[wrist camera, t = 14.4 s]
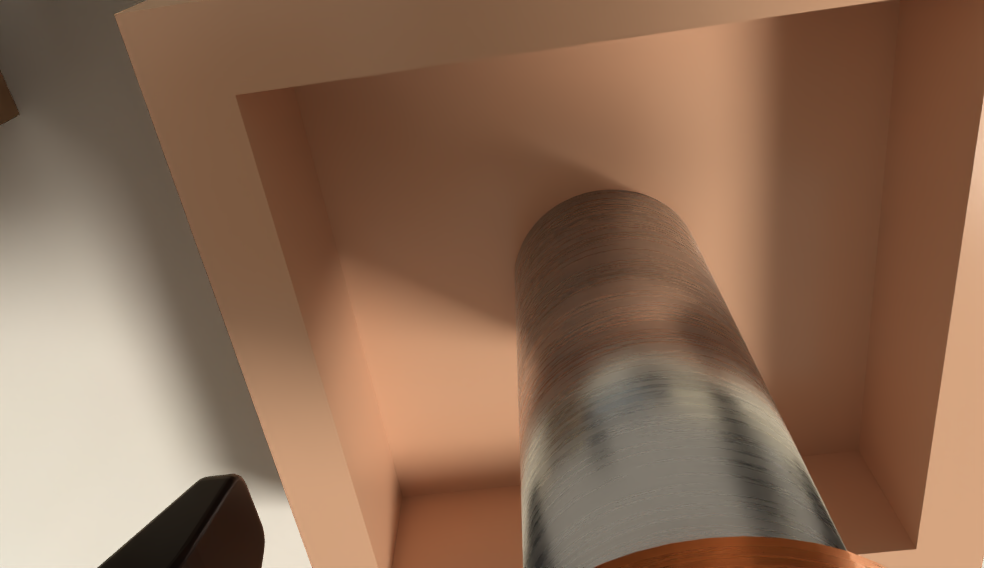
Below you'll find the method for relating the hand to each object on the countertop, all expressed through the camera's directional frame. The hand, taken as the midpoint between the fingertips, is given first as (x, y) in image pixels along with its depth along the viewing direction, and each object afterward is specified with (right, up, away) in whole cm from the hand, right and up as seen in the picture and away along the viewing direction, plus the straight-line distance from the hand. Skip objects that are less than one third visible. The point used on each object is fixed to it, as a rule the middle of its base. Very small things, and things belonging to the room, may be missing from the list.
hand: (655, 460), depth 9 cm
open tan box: (0, +2, +4) cm, 5 cm away
